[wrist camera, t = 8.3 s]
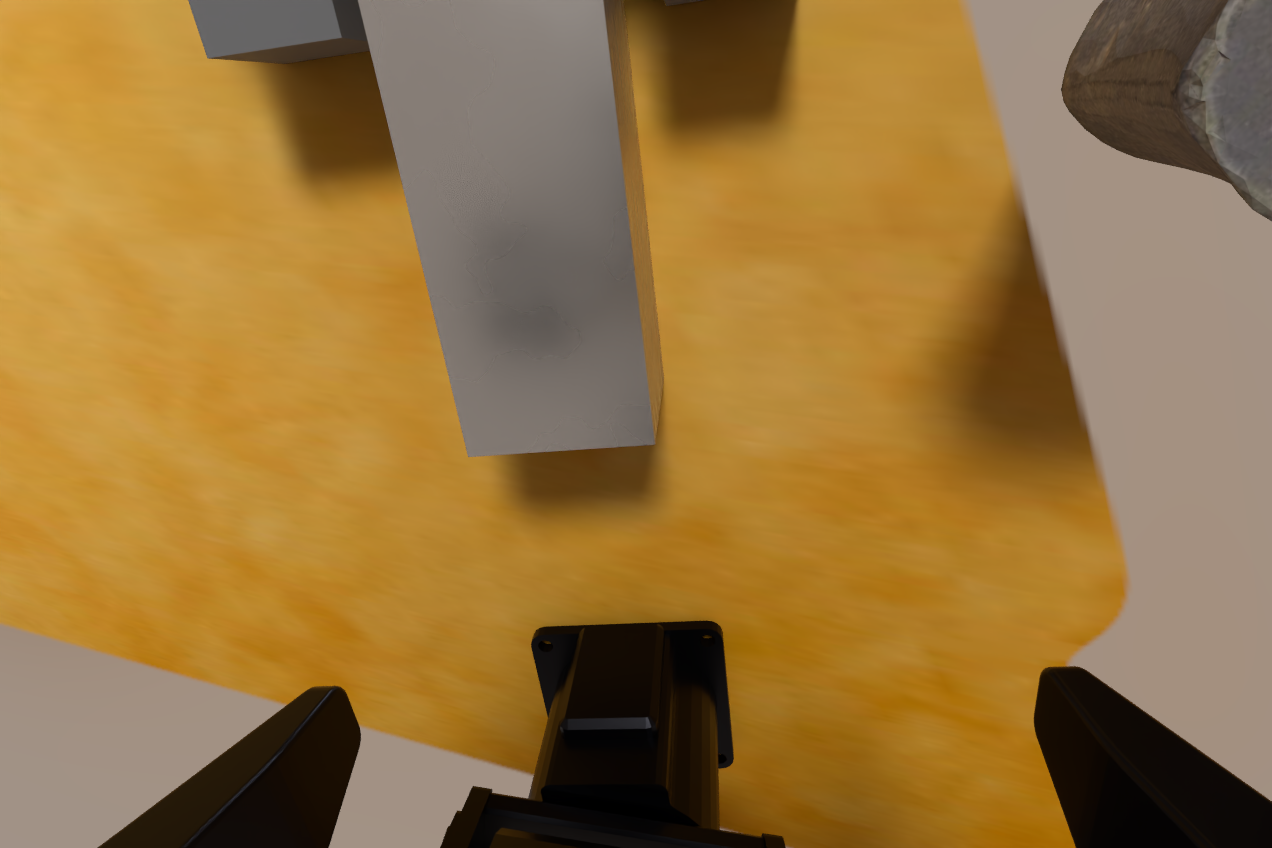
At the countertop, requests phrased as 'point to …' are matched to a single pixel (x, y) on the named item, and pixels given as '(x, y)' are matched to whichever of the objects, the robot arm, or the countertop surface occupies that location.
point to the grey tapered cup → (1181, 87)
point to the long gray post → (527, 214)
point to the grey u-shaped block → (284, 29)
